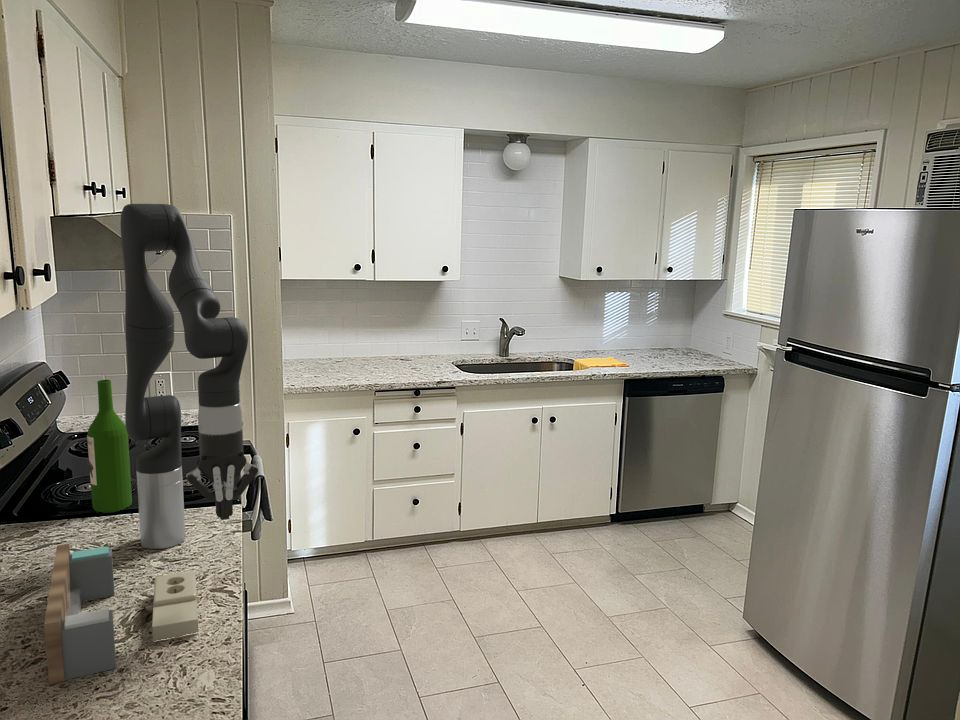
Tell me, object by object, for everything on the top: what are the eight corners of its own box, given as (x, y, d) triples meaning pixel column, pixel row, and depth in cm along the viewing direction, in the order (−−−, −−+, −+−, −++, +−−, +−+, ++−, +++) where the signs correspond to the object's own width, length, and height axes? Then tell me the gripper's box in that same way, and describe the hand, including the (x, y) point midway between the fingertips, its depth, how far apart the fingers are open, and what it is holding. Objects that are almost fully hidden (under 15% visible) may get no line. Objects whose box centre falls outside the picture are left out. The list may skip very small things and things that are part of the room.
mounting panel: (61, 595, 134) (56, 545, 133) (73, 592, 135) (69, 543, 134) (49, 685, 107) (44, 624, 106) (64, 681, 108) (59, 621, 106)
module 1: (73, 594, 135) (69, 551, 133) (114, 586, 138) (111, 544, 137) (72, 603, 131) (68, 560, 130) (114, 595, 134) (111, 553, 133)
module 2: (66, 666, 112) (61, 615, 111) (115, 655, 115) (112, 606, 114) (64, 680, 108) (60, 628, 107) (115, 668, 112) (112, 617, 110)
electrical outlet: (151, 621, 119) (154, 575, 135) (153, 644, 119) (155, 595, 136) (197, 614, 121) (195, 569, 138) (198, 636, 122) (195, 589, 138)
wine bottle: (87, 506, 179) (78, 380, 174) (125, 497, 185) (117, 376, 180) (99, 516, 173) (89, 385, 168) (137, 507, 179) (129, 381, 174)
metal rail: (72, 603, 131) (70, 585, 131) (81, 601, 132) (80, 584, 131) (66, 666, 112) (64, 645, 111) (76, 663, 113) (75, 643, 112)
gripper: (254, 419, 134) (257, 506, 137) (179, 426, 128) (184, 517, 131) (262, 428, 128) (264, 519, 131) (183, 436, 122) (188, 531, 125)
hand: (224, 518), depth 131 cm, fingers closed
